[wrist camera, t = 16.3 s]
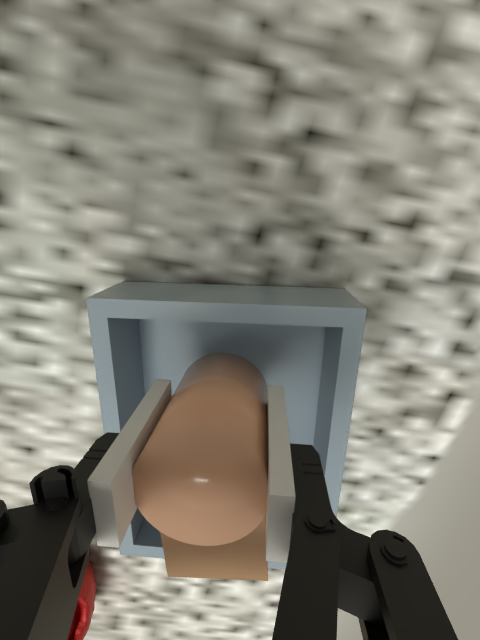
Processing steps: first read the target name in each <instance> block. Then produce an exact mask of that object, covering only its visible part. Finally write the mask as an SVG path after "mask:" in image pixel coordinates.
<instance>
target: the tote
mask: <svg viewBox="0 0 480 640" xmlns="http://www.w3.org/2000/svg"><path fill="white" fill-rule="evenodd" d="M86 301H87V309H88V316H89V324H90V331H91V339H92V346H93V354H94V361H95V368H96V376H97V383H98V391H99V398H100V406H101V413H102V421H103V428H104V434H105V433H107V432H112V433H120V432H121V430H122V429H123V427H124V426H125V424H126V423H127V421H128V420H129V418H130V417H131V415H132V414H133V413H134V411H135V410H136V408H137V407H138V405H139V404H140V402H141V401H142V399H143V398H144V396H145V395H146V393H147V392H148V391H149V389H150V388H151V386H152V385H153V383H154V382H155V380H156V379H162V380H171V390H172V396H173V394H174V392H175V390H176V388H177V386H178V384H179V383H180V381H181V379H182V377H183V375H184V373H185V372H186V370H187V369H188V367H189V366H190V365H191V364H192V363H193V362H195V361H196V360H198V359H199V358H201V357H203V356H206V355H209V354H213V353H231V354H235V355H238V356H241V357H243V358H245V359H247V360H248V361H250V362H251V363H252V364H254V365H255V366H256V367H257V368H258V369H259V371H260V372H261V373H262V375H263V377H264V379H265V381H266V384H267V389H268V385H273V386H284V394H285V403H286V412H287V422H288V431H289V441H290V443H291V444H306V445H312V446H313V447H314V448H315V449H316V451H317V452H318V453H319V455H320V460H321V464H322V469H323V473H324V477H325V482H326V486H327V491H328V495H329V499H330V504H331V508H332V511H333V513H334V515H335V516H336V517H337V510H338V503H339V497H340V490H341V483H342V476H343V469H344V462H345V455H346V448H347V442H348V435H349V428H350V421H351V414H352V407H353V400H354V393H355V387H356V380H357V373H358V366H359V359H360V352H361V345H362V339H363V332H364V325H365V318H366V311H367V308H366V307H364V306H363V305H362V304H361V303H360V302H359V301H358V300H357V299H355V298H354V297H353V296H352V295H351V294H350V293H349V292H348V291H347V290H345V289H344V288H314V287H283V286H253V285H223V284H193V283H163V282H133V281H123V282H121V283H119V284H117V285H114V286H112V287H110V288H108V289H106V290H103V291H101V292H99V293H97V294H94V295H92V296H90V297H88V298H86ZM120 554H122V555H133V556H144V557H154V558H165V557H164V551H163V545H162V540H161V534H160V531H159V530H157V529H156V528H155V527H153V526H152V525H151V524H150V523H149V522H148V521H147V520H146V519H145V517H144V516H143V515H142V514H141V512H140V511H139V509H138V507H137V509H136V512H135V514H134V516H133V518H132V521H131V523H130V525H129V527H128V530H127V532H126V534H125V536H124V539H123V541H122V543H121V545H120ZM286 564H287V563H283V562H272V561H268V568H274V569H286Z"/></svg>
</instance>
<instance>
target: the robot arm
mask: <svg viewBox="0 0 480 640" xmlns="http://www.w3.org/2000/svg"><path fill="white" fill-rule="evenodd" d="M171 397H172V390H171V380H162V379H156V380H155V382H154V383H153V385H152V386H151V388H150V389H149V391H148V392H147V393H146V395H145V396H144V398H143V399H142V401H141V402H140V404H139V405H138V407H137V408H136V410H135V411H134V413H133V414H132V415H131V417H130V418H129V420H128V421H127V423H126V424H125V426H124V427H123V429H122V430H121V432H120V433H112V432H107V433H105V434H104V435H103V436H101V437H100V438H98V439H97V440H96V441H95V442H94V444H93V445H92V446H91V448H90V449H89V451H88V452H87V453H86V454H85V456H84V457H83V459H81V461H80V462H79V463H78V465H77V466H76V467H75V469H74V468H72V467H70V466H65V465H60V466H55V467H51V468H49V469H47V470H44V471H42V472H41V473H39V474H38V475H37V476H35V477H34V478H33V480H32V481H31V482H30V483H29V484H30V489H31V493H32V497H33V502H34V504H33V505H29V506H24V507H19V508H14V509H8V510H7V507H6V504H5V503H4V501H3V500H0V640H67V639H68V635H69V632H70V628H71V624H72V621H73V617H74V613H75V609H76V606H77V602H78V598H79V595H80V591H81V587H82V584H83V580H84V576H85V573H86V569H87V565H88V562H89V556H90V550H89V544H90V543H91V541H92V539H93V537H94V535H95V533H96V539H97V546H107V547H118V548H120V545H121V543H122V541H123V539H124V536H125V534H126V532H127V530H128V527H129V525H130V523H131V521H132V518H133V516H134V514H135V512H136V509H137V505H136V503H135V498H134V487H133V477H132V472H133V469H134V466H135V464H136V462H137V460H138V458H139V456H140V454H141V452H142V451H143V449H144V447H145V445H146V443H147V441H148V440H149V438H150V436H151V434H152V432H153V430H154V429H155V427H156V425H157V423H158V421H159V419H160V418H161V416H162V414H163V412H164V410H165V408H166V407H167V405H168V403H169V401H170V399H171ZM267 431H268V492H267V510H266V561H272V562H283V563H287V564H286V569H285V574H284V580H283V585H282V590H281V596H280V601H279V606H278V611H277V617H276V622H275V627H274V632H273V638H272V640H336V636H337V610H338V608H340V609H342V610H344V611H346V612H348V613H350V614H352V615H354V616H357V617H358V618H359V623H360V627H361V632H362V636H363V640H458V639H457V636H456V634H455V632H454V629H453V627H452V625H451V623H450V621H449V618H448V616H447V614H446V612H445V610H444V607H443V605H442V603H441V601H440V598H439V596H438V594H437V592H436V590H435V587H434V585H433V583H432V581H431V578H430V576H429V574H428V572H427V570H426V567H425V565H424V563H423V561H422V559H421V556H420V554H419V553H418V551H417V550H416V548H415V547H414V545H413V544H412V543H411V542H409V540H407V539H406V538H405V537H404V536H402V535H400V534H398V533H396V532H393V531H389V530H379V531H376V532H375V533H373V534H372V535H371V538H370V537H368V536H365V535H362V534H360V533H357V532H355V531H353V530H351V529H348V528H347V527H346V526H344V525H343V524H342V523H341V522H340V521H339V520H338V519H337V518H336V516H335V515H334V513H333V511H332V508H331V504H330V499H329V495H328V491H327V486H326V482H325V477H324V473H323V469H322V464H321V460H320V455H319V453H318V452H317V451H316V449H315V448H314V447H313V446H312V445H306V444H291V443H290V441H289V431H288V422H287V412H286V403H285V394H284V386H273V385H268V400H267Z"/></svg>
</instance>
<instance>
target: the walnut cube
mask: <svg viewBox="0 0 480 640" xmlns="http://www.w3.org/2000/svg"><path fill="white" fill-rule="evenodd" d="M160 534H161V540H162V545H163V551H164V557H165V562H166V568H167V574H168V577H192V578H215V579H239V580H263V581H268V561H266V514H265V516H264V518H263V520H262V521H261V523H260V524H259V525H258V526H257V527H256V528H255V529H254V530H253V531H252V532H251V533H249V534H248V535H246V536H245V537H243V538H241V539H239V540H237V541H234V542H231V543H227V544H223V545H217V546H199V545H193V544H188V543H184V542H181V541H178V540H175V539H173V538H171V537H169V536H167V535H165V534H163V533H162V532H160Z"/></svg>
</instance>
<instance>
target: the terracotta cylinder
mask: <svg viewBox="0 0 480 640" xmlns="http://www.w3.org/2000/svg"><path fill="white" fill-rule="evenodd" d="M267 400H268V389H267V384H266V381H265V379H264V377H263V375H262V373H261V372H260V371H259V369H258V368H257V367H256V366H255V365H254V364H252V363H251V362H250V361H248V360H247V359H245V358H243V357H241V356H238V355H235V354H231V353H213V354H209V355H206V356H203V357H201V358H199V359H198V360H196V361H195V362H193V363H192V364H191V365H190V366H189V367H188V369H187V370H186V372H185V373H184V375H183V377H182V379H181V381H180V383H179V384H178V386H177V388H176V390H175V392H174V394H173V396H172V397H171V399H170V401H169V403H168V405H167V407H166V408H165V410H164V412H163V414H162V416H161V418H160V419H159V421H158V423H157V425H156V427H155V429H154V430H153V432H152V434H151V436H150V438H149V440H148V441H147V443H146V445H145V447H144V449H143V451H142V452H141V454H140V456H139V458H138V460H137V462H136V464H135V466H134V469H133V472H132V477H133V487H134V498H135V503H136V505H137V507H138V509H139V511H140V512H141V514H142V515H143V516H144V517H145V519H146V520H147V521H148V522H149V523H150V524H151V525H152V526H153V527H155V528H156V529H157V530H159V531H160V532H162V533H163V534H165V535H167V536H169V537H171V538H173V539H175V540H178V541H181V542H184V543H188V544H193V545H199V546H217V545H223V544H227V543H231V542H234V541H237V540H239V539H241V538H243V537H245V536H246V535H248V534H249V533H251V532H252V531H253V530H254V529H255V528H256V527H257V526H258V525H259V524H260V523H261V521H262V520H263V518H264V516H265V514H266V510H267V492H268V431H267Z"/></svg>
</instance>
